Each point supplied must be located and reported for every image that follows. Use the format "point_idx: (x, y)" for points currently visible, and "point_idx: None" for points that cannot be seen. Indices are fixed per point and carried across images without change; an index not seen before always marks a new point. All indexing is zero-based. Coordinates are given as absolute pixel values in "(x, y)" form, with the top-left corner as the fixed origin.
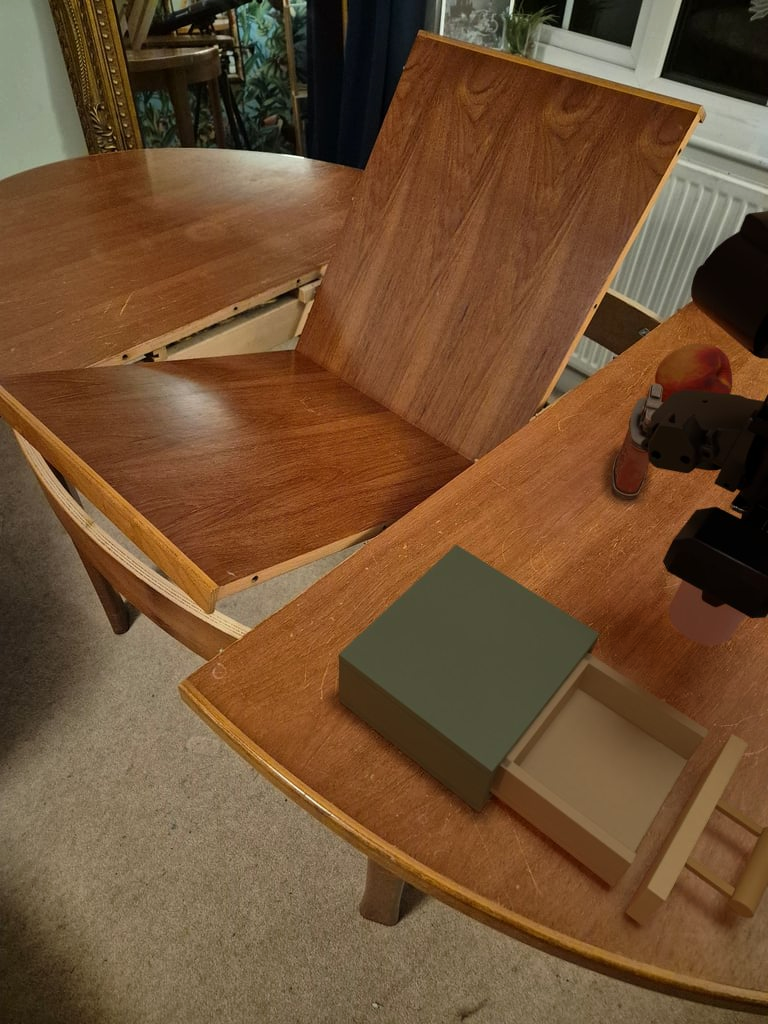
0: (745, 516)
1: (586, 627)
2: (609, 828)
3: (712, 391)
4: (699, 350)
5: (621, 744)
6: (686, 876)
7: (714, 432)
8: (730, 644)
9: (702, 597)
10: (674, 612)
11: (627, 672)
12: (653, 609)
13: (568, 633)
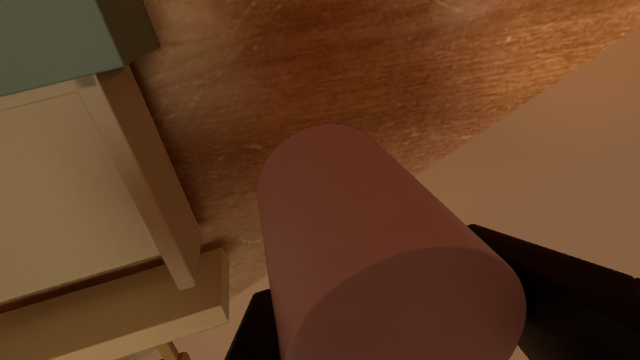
0: (615, 333)
1: (101, 32)
2: (2, 264)
3: None
4: None
5: (109, 188)
6: None
7: None
8: (413, 137)
9: (248, 305)
10: (269, 171)
11: (247, 84)
12: (383, 22)
13: (40, 15)
